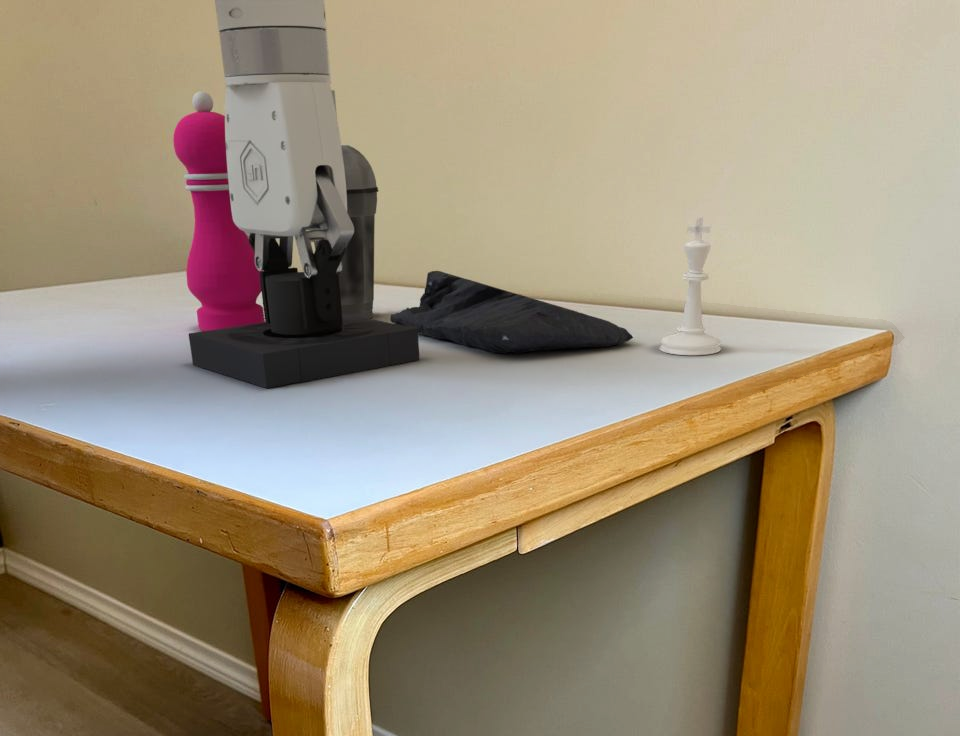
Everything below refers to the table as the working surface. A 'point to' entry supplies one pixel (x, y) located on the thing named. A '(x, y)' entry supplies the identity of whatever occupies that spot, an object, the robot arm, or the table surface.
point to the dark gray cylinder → (286, 304)
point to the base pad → (303, 351)
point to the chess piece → (693, 303)
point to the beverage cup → (358, 235)
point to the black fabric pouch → (502, 319)
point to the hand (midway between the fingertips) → (303, 323)
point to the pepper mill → (215, 226)
